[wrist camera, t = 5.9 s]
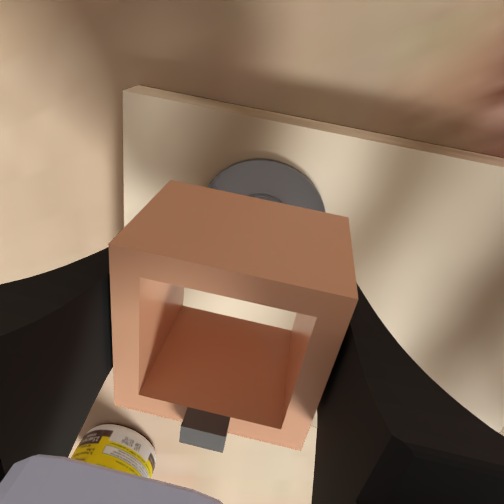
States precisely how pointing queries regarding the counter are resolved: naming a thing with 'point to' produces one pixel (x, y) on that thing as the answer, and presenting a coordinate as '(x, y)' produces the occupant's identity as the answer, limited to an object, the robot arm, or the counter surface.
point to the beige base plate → (357, 224)
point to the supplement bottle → (117, 450)
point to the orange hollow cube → (226, 327)
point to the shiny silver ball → (269, 183)
